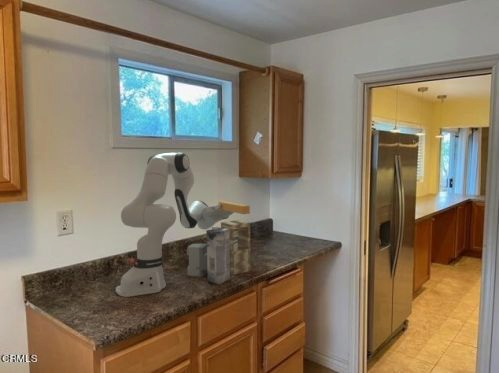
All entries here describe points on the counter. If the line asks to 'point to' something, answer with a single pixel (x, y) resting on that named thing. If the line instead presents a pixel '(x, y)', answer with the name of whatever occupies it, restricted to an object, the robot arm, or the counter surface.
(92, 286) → the counter surface
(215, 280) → the juice carton
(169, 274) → the counter surface
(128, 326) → the counter surface
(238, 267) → the birch stool
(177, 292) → the counter surface
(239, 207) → the orange bar
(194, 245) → the circuit breaker
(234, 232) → the baking soda box
